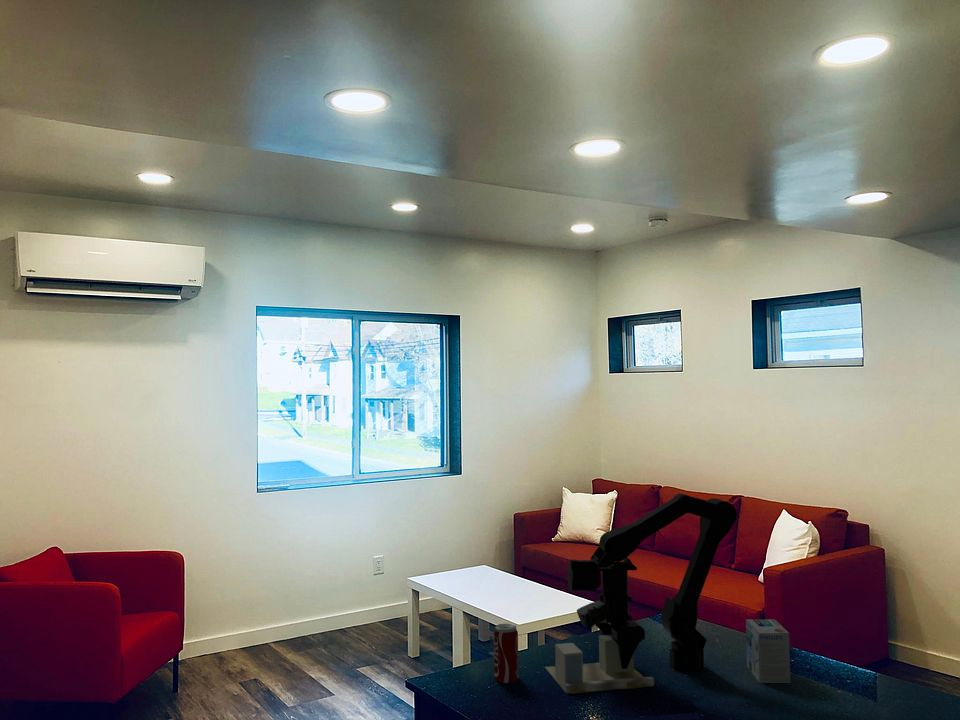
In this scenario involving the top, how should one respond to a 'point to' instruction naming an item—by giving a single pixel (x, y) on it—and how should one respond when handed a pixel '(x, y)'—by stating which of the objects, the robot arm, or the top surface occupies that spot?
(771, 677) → the light bulb box
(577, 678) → the cream carton
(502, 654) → the soda can
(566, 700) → the top surface
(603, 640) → the sage carton
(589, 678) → the beige shallow tray
